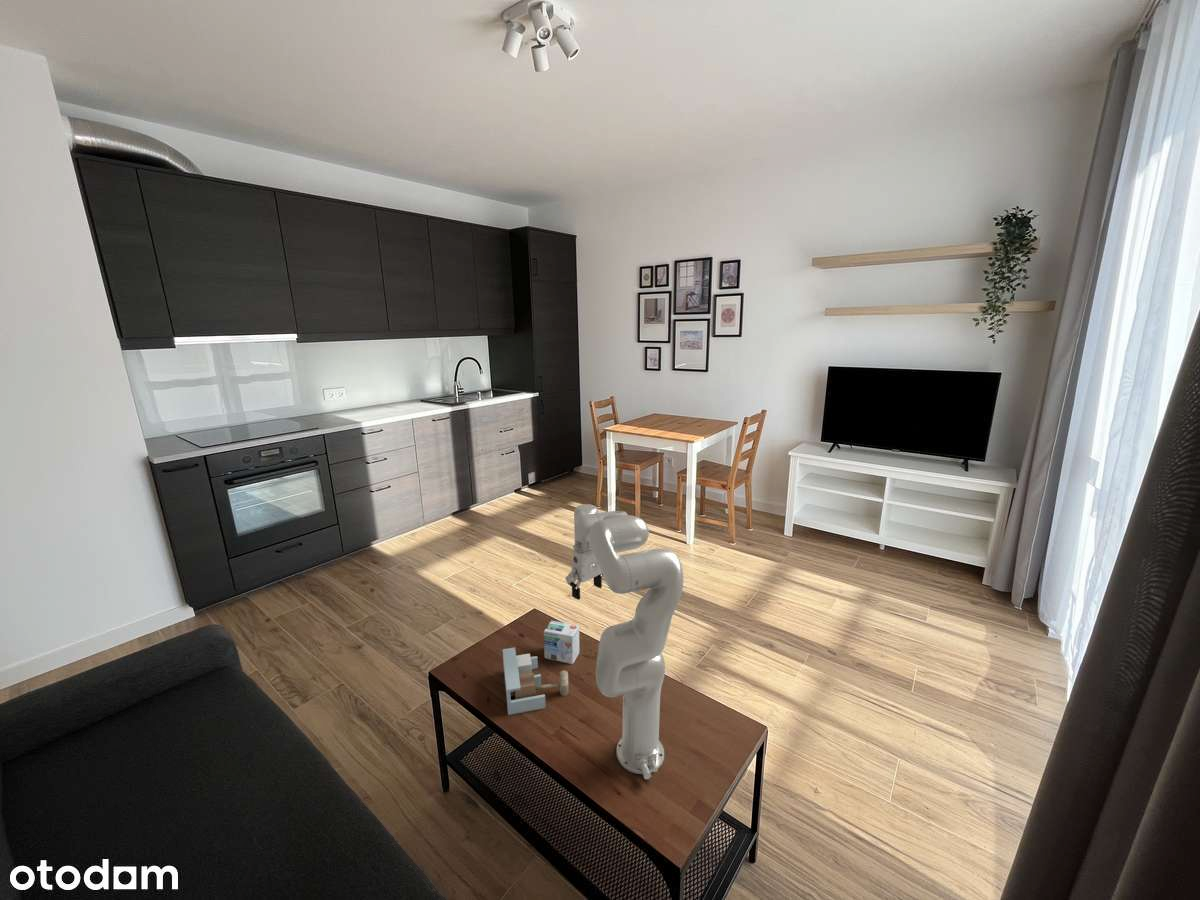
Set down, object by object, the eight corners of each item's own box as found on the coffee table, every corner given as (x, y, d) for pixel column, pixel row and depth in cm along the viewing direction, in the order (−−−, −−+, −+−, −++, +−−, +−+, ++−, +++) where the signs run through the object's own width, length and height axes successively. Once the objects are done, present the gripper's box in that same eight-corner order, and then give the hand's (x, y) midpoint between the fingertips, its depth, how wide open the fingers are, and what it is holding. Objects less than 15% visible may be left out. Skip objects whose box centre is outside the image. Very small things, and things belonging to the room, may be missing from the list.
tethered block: (570, 698, 151) (569, 678, 150) (516, 708, 148) (515, 688, 146) (566, 685, 157) (566, 666, 155) (514, 695, 153) (513, 676, 151)
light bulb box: (544, 658, 169) (542, 631, 167) (551, 646, 176) (550, 619, 173) (573, 664, 166) (572, 636, 164) (580, 652, 173) (579, 625, 170)
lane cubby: (545, 707, 148) (544, 683, 146) (508, 715, 145) (506, 690, 143) (537, 666, 166) (536, 643, 163) (503, 672, 163) (502, 649, 161)
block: (532, 683, 158) (531, 664, 156) (513, 686, 157) (512, 667, 155) (530, 671, 163) (529, 653, 161) (512, 675, 162) (511, 656, 160)
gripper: (574, 556, 148) (575, 607, 152) (613, 538, 160) (613, 586, 164) (557, 548, 153) (559, 598, 157) (597, 532, 165) (597, 578, 169)
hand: (587, 592), depth 161 cm, fingers open, 9 cm apart
